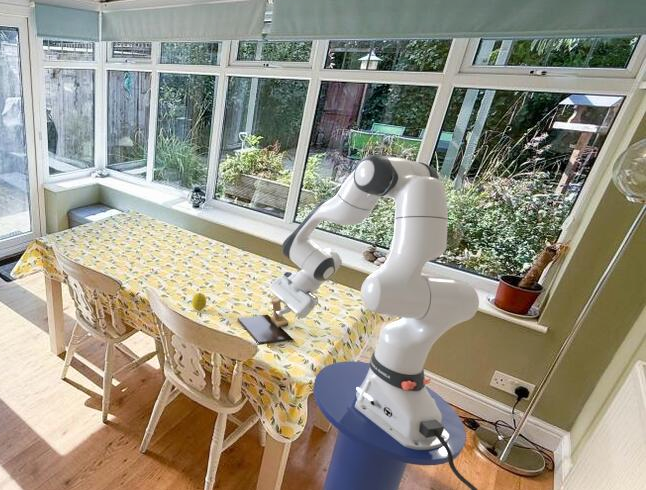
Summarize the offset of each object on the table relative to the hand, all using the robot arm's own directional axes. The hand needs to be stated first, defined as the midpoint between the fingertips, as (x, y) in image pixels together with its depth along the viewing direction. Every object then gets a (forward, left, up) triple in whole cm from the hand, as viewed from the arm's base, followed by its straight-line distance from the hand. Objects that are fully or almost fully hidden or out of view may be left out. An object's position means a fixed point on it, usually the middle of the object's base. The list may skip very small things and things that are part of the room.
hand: (274, 311), depth 150 cm
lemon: (+18, +22, -8) cm, 29 cm away
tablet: (0, 0, -7) cm, 7 cm away
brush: (0, -3, -6) cm, 6 cm away
